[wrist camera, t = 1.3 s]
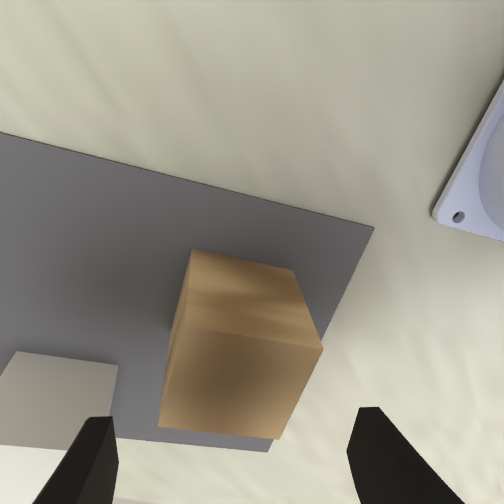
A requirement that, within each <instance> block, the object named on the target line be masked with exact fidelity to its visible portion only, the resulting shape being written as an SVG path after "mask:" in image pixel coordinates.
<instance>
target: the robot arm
mask: <svg viewBox="0 0 504 504" xmlns="http://www.w3.org/2000/svg"><path fill="white" fill-rule="evenodd" d="M457 212H459V215H458V216H457V217H456V218H455V219H452V218H453V216H454V214H455V213H457ZM432 215H433V218H434V220H435V221H436V222H438V223H439V224H441V225H444V226H448V227H452V228H455V229H459V230H463V231H467V232H470V233H474V234H478V235H481V236H485V237H489V238H493V239H496V240H500V241H504V80H503V82H502V83H501V85H500V87H499V89H498V91H497V93H496V94H495V96H494V98H493V100H492V102H491V104H490V106H489V107H488V109H487V111H486V113H485V115H484V117H483V119H482V120H481V122H480V124H479V126H478V128H477V130H476V131H475V133H474V135H473V137H472V139H471V141H470V143H469V144H468V146H467V148H466V150H465V152H464V154H463V156H462V157H461V159H460V161H459V163H458V165H457V167H456V168H455V170H454V172H453V174H452V176H451V178H450V180H449V181H448V183H447V185H446V187H445V189H444V191H443V193H442V194H441V196H440V198H439V200H438V202H437V204H436V205H435V207H434V210H433V212H432ZM346 452H347V456H348V460H349V464H350V469H351V473H352V477H353V480H354V484H355V488H356V491H357V494H358V497H359V500H360V502H361V504H465V503H464V502H463V501H462V500H461V499H460V498H459V497H458V496H457V495H456V494H455V493H454V492H453V491H452V490H451V489H450V488H449V487H448V485H447V484H446V483H445V482H444V481H443V480H442V479H441V478H440V477H439V476H438V475H437V473H436V472H435V471H434V470H433V469H432V468H431V467H430V466H429V465H428V464H427V462H426V461H425V460H424V459H423V458H422V457H421V456H420V455H419V453H418V452H417V451H416V450H415V449H414V448H413V446H412V445H411V444H410V443H409V442H408V441H407V440H406V438H405V437H404V436H403V435H402V434H401V432H400V431H399V430H398V429H397V428H396V427H395V425H394V424H393V423H392V422H391V421H390V420H389V418H388V417H387V416H386V415H385V414H384V412H383V411H382V410H381V409H380V408H379V407H360V408H359V411H358V414H357V417H356V421H355V424H354V427H353V431H352V434H351V437H350V441H349V444H348V447H347V451H346ZM118 464H119V460H118V453H117V446H116V438H115V431H114V423H113V416H100V417H89V418H88V419H86V421H85V422H84V424H83V426H82V428H81V429H80V431H79V433H78V434H77V436H76V438H75V439H74V441H73V443H72V444H71V446H70V448H69V449H68V451H67V452H66V454H65V456H64V457H63V459H62V460H61V462H60V463H59V465H58V466H57V468H56V469H55V471H54V472H53V474H52V475H51V477H50V478H49V480H48V481H47V483H46V484H45V485H44V487H43V488H42V490H41V491H40V493H39V494H38V496H37V497H36V499H35V500H34V501H33V503H32V504H112V501H113V495H114V489H115V483H116V477H117V471H118Z"/></svg>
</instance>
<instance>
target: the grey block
mask: <svg viewBox="0 0 504 504" xmlns="http://www.w3.org/2000/svg"><path fill="white" fill-rule="evenodd" d="M118 367H119V365H113V364H106V363H99V362H92V361H85V360H77V359H70V358H63V357H56V356H49V355H41V354H34V353H27V352H20V351H16V353H15V354H14V356H13V357H12V359H11V360H10V362H9V363H8V365H7V367H6V368H5V370H4V371H3V373H2V374H1V376H0V504H32V503H33V501H34V500H35V499H36V497H37V496H38V494H39V493H40V491H41V490H42V488H43V487H44V485H45V484H46V483H47V481H48V480H49V478H50V477H51V475H52V474H53V472H54V471H55V469H56V468H57V466H58V465H59V463H60V462H61V460H62V459H63V457H64V456H65V454H66V452H67V451H68V449H69V448H70V446H71V444H72V443H73V441H74V439H75V438H76V436H77V434H78V433H79V431H80V429H81V428H82V426H83V424H84V422H85V421H86V419H88V418H89V417H100V416H109V415H110V409H111V404H112V399H113V393H114V388H115V383H116V377H117V372H118Z"/></svg>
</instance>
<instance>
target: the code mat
mask: <svg viewBox="0 0 504 504" xmlns="http://www.w3.org/2000/svg"><path fill="white" fill-rule="evenodd" d="M374 229H375V228H374V227H370V226H366V225H363V224H359V223H355V222H351V221H347V220H343V219H339V218H335V217H331V216H327V215H323V214H319V213H315V212H311V211H307V210H304V209H300V208H296V207H292V206H288V205H284V204H280V203H276V202H272V201H268V200H264V199H260V198H256V197H252V196H248V195H244V194H241V193H237V192H233V191H229V190H225V189H221V188H217V187H213V186H209V185H205V184H201V183H197V182H193V181H189V180H185V179H181V178H178V177H174V176H170V175H166V174H162V173H158V172H154V171H150V170H146V169H142V168H138V167H134V166H130V165H126V164H122V163H119V162H115V161H111V160H107V159H103V158H99V157H95V156H91V155H87V154H83V153H79V152H75V151H71V150H67V149H63V148H59V147H56V146H52V145H48V144H44V143H40V142H36V141H32V140H28V139H24V138H20V137H16V136H12V135H8V134H4V133H0V376H1V374H2V373H3V371H4V370H5V368H6V367H7V365H8V363H9V362H10V360H11V359H12V357H13V356H14V354H15V353H16V351H20V352H27V353H34V354H41V355H49V356H56V357H63V358H70V359H77V360H85V361H92V362H99V363H106V364H113V365H119V367H118V372H117V377H116V383H115V388H114V393H113V399H112V404H111V409H110V415H109V416H113V423H114V431H115V438H125V439H136V440H146V441H156V442H166V443H177V444H187V445H197V446H207V447H217V448H228V449H238V450H248V451H258V452H268V450H269V448H270V446H271V444H272V442H273V440H274V439H268V438H259V437H250V436H240V435H231V434H222V433H212V432H203V431H193V430H184V429H175V428H165V427H157V426H158V419H159V412H160V404H161V397H162V390H163V383H164V376H165V368H166V361H167V354H168V347H169V340H170V332H171V328H172V324H173V320H174V316H175V313H176V309H177V305H178V301H179V297H180V293H181V289H182V285H183V281H184V277H185V273H186V269H187V265H188V261H189V257H190V253H191V249H192V248H193V249H197V250H202V251H207V252H211V253H216V254H221V255H225V256H230V257H235V258H239V259H244V260H249V261H253V262H258V263H263V264H267V265H272V266H277V267H281V268H286V269H291V270H293V271H294V274H295V276H296V279H297V282H298V284H299V287H300V289H301V292H302V294H303V297H304V300H305V302H306V305H307V307H308V310H309V313H310V315H311V318H312V320H313V323H314V326H315V328H316V331H317V333H318V336H319V339H320V341H321V339H322V337H323V335H324V333H325V331H326V329H327V327H328V325H329V323H330V321H331V319H332V316H333V314H334V312H335V310H336V308H337V306H338V304H339V302H340V300H341V298H342V296H343V293H344V291H345V289H346V287H347V285H348V283H349V281H350V279H351V277H352V275H353V273H354V270H355V268H356V266H357V264H358V262H359V260H360V258H361V256H362V254H363V252H364V250H365V248H366V245H367V243H368V241H369V239H370V237H371V235H372V233H373V231H374Z"/></svg>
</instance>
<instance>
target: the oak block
mask: <svg viewBox="0 0 504 504" xmlns="http://www.w3.org/2000/svg"><path fill="white" fill-rule="evenodd" d="M322 351H323V346H322V344H321V341H320V339H319V336H318V333H317V331H316V328H315V326H314V323H313V320H312V318H311V315H310V313H309V310H308V307H307V305H306V302H305V300H304V297H303V294H302V292H301V289H300V287H299V284H298V282H297V279H296V276H295V274H294V271H293V270H291V269H286V268H281V267H277V266H272V265H267V264H263V263H258V262H253V261H249V260H244V259H239V258H235V257H230V256H225V255H221V254H216V253H211V252H207V251H202V250H197V249H193V248H192V249H191V253H190V257H189V261H188V265H187V269H186V273H185V277H184V281H183V285H182V289H181V293H180V297H179V301H178V305H177V309H176V313H175V316H174V320H173V324H172V328H171V332H170V340H169V347H168V354H167V361H166V368H165V376H164V383H163V390H162V397H161V404H160V412H159V419H158V426H157V427H165V428H175V429H184V430H193V431H203V432H212V433H222V434H231V435H240V436H250V437H259V438H268V439H278V440H279V439H280V437H281V435H282V433H283V431H284V429H285V427H286V425H287V423H288V421H289V419H290V417H291V414H292V412H293V410H294V408H295V406H296V404H297V402H298V400H299V398H300V396H301V394H302V392H303V390H304V388H305V386H306V384H307V382H308V380H309V378H310V376H311V374H312V372H313V370H314V367H315V365H316V363H317V361H318V359H319V357H320V355H321V353H322Z"/></svg>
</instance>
